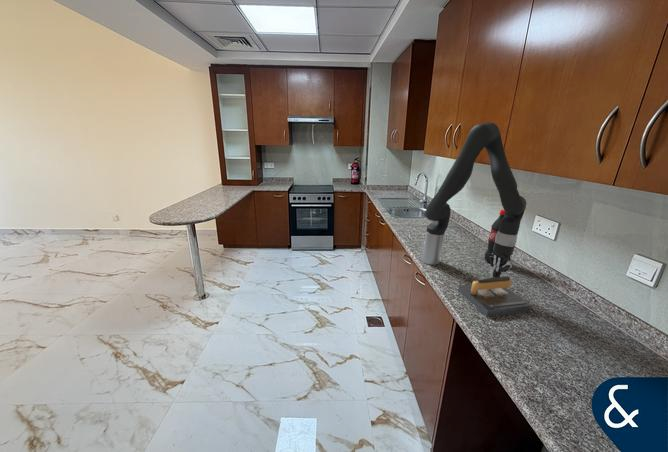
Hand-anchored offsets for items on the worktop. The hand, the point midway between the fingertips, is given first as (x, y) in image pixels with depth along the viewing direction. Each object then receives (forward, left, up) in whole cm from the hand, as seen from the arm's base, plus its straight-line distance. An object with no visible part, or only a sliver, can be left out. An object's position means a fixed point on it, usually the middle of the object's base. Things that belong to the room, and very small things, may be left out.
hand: (495, 277), depth 122 cm
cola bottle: (-26, +21, -7) cm, 34 cm away
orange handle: (+5, -7, -3) cm, 9 cm away
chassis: (+7, -7, -7) cm, 12 cm away
